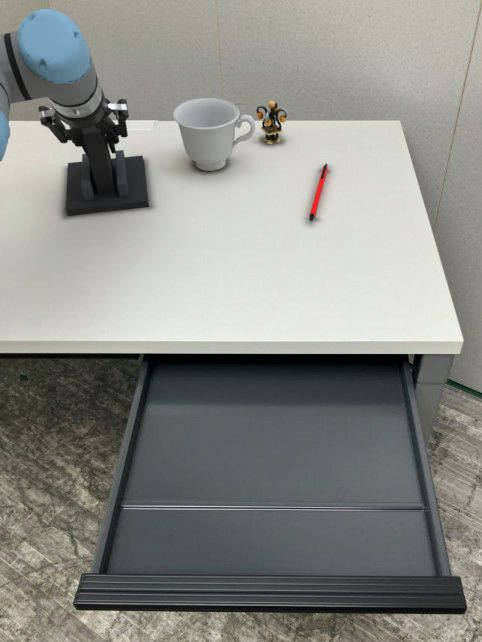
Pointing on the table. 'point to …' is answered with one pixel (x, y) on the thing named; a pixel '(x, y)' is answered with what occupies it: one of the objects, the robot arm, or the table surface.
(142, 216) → the table surface
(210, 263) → the table surface
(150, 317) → the table surface
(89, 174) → the base pad
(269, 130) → the figurine
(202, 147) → the teacup
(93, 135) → the foam pad
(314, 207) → the pen
